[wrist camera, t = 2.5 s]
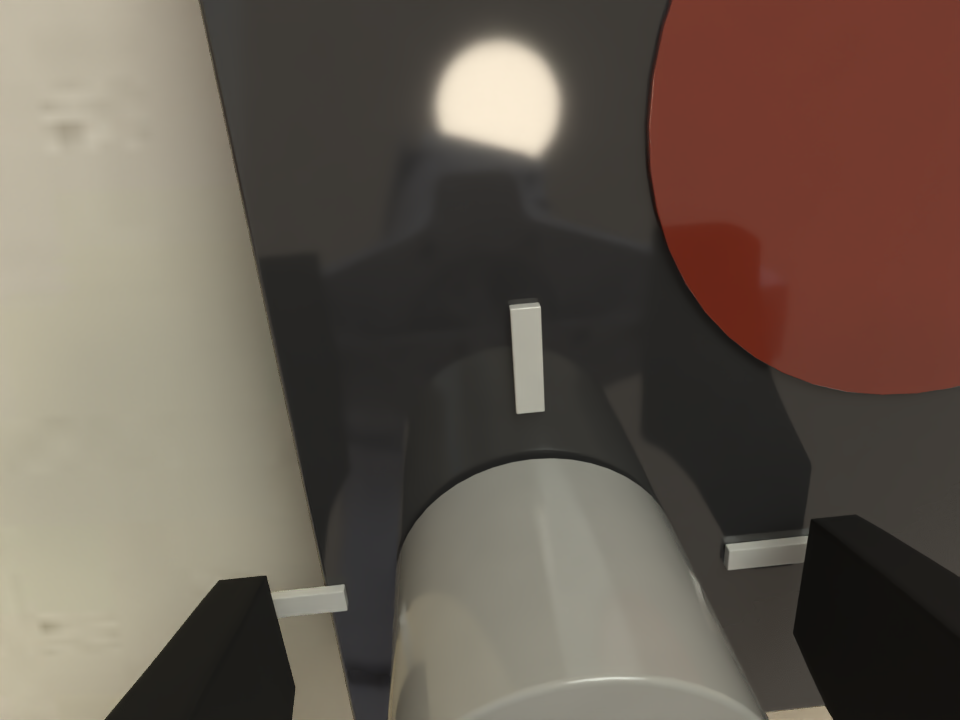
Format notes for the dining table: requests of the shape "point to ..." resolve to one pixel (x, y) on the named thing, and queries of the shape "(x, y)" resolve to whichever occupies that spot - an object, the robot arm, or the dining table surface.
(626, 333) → the hob
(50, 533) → the dining table surface
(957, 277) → the disc
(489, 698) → the hob knob
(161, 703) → the robot arm
